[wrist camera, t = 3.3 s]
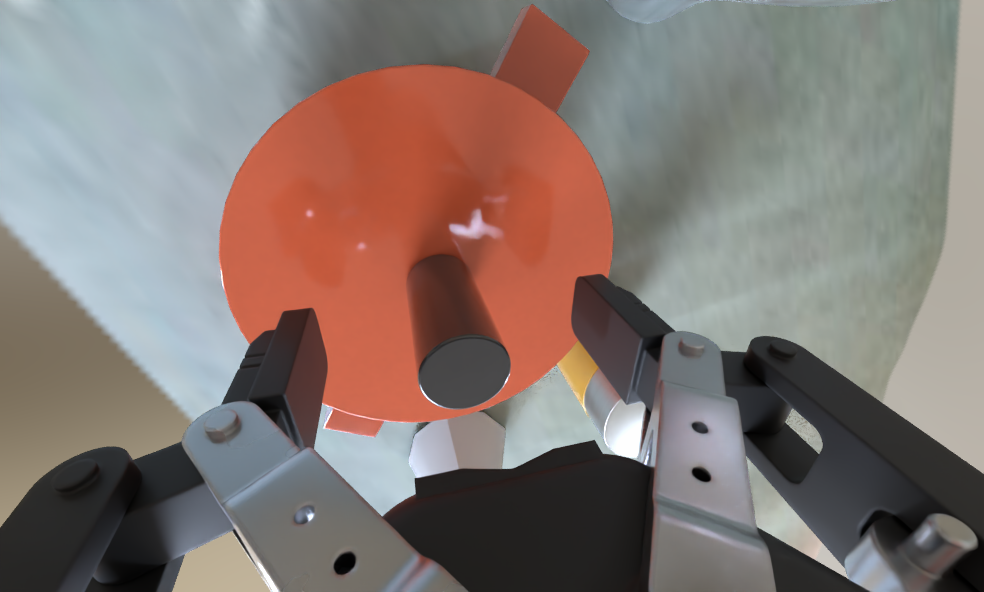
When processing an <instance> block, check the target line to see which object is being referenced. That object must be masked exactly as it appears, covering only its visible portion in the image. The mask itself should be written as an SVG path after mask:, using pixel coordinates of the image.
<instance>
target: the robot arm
mask: <svg viewBox="0 0 984 592" xmlns="http://www.w3.org/2000/svg"><path fill="white" fill-rule="evenodd" d="M571 324H572V329H573V332H574V334H575V336H576V337H577V339H578V340H579V342H580V343H581V344H582V346H583V347H584V348H585V350H586V351H587V352H588V354H589V355H590V356H591V358H592V359H593V361H594V362H595V363H596V365H597V366H598V367H599V369H600V370H601V371H602V373H603V374H604V375H605V377H606V378H607V380H608V381H609V382H610V384H611V385H612V386H613V388H614V389H615V390H616V392H617V393H618V394H619V396H620V397H621V399H622V400H623V401H624V403H625V404H626V405H631V404H636V403H641V402H643V403H644V405H645V410H644V414H643V420H642V428H641V436H640V443H639V451H638V458H637V461H636V460H633V459H630V458H626V457H622V456H617V455H610V454H603V453H602V452H601V450H600V448H599V447H598V445H597V443H596V441H595V440H593V441H588V442H583V443H579V444H574V445H569V446H565V447H560V448H555V449H552V450H550V451H548V452H546V453H544V454H542V455H540V456H538V457H536V458H534V459H532V460H530V461H528V462H526V463H524V464H522V465H520V466H518V467H516V468H513V469H471V468H462V469H457V470H452V471H447V472H443V473H438V474H433V475H429V476H424V477H419V478H415V490H416V494H415V495H413V496H411V497H409V498H407V499H405V500H404V501H402V502H401V503H399V504H397V505H396V506H395V507H393V508H392V509H391V510H390V511H388V512H387V513H386V514H385V515H384V516H383V517H382V516H381V515H380V514H379V513H378V512H377V511H376V510H375V509H374V508H373V507H372V506H371V505H370V504H369V503H368V502H366V501H365V500H364V499H363V498H362V497H361V496H360V495H359V494H358V493H357V492H356V491H355V490H354V489H353V488H352V487H351V486H350V485H349V484H348V483H347V482H346V481H345V480H344V479H343V478H342V477H341V476H340V475H339V474H338V473H337V472H336V471H335V470H334V469H333V468H332V467H331V466H330V465H329V464H328V463H327V462H326V461H325V460H324V459H323V458H322V457H321V456H320V455H319V454H318V453H317V452H316V451H315V450H314V444H315V439H316V433H317V428H318V422H319V417H320V411H321V406H322V400H323V395H324V389H325V384H326V378H327V372H328V361H327V354H326V350H325V346H324V342H323V338H322V335H321V331H320V327H319V323H318V320H317V316H316V313H315V311H314V309H313V308H304V309H296V310H287V311H283V313H282V315H281V317H280V320H279V322H278V324H277V327H276V329H275V330H268V331H264V332H263V333H262V334H261V335H260V336H258V337H257V338H256V339H255V340H254V341H253V342H252V343H251V344H250V346H249V348H248V350H247V352H246V354H245V358H244V359H243V361H242V363H241V365H240V369H239V370H238V371H237V373H236V375H235V377H234V379H233V381H232V383H231V385H230V387H229V390H228V392H227V394H226V396H225V398H224V400H223V402H222V404H221V406H218V407H216V408H213V409H211V410H209V411H208V412H206V413H204V414H203V415H201V416H200V417H198V418H197V419H196V420H195V421H194V422H193V423H192V424H191V425H190V426H189V427H188V428H187V430H186V431H185V433H184V435H183V438H182V441H181V442H179V443H177V444H174V445H172V446H169V447H167V448H164V449H161V450H159V451H156V452H154V453H151V454H148V455H145V456H143V457H140V458H137V459H135V460H132V458H131V457H130V455H129V454H128V452H127V451H126V450H125V449H123V448H120V447H102V448H98V449H93V450H90V451H87V452H84V453H82V454H80V455H77V456H75V457H73V458H71V459H69V460H67V461H65V462H63V463H61V464H60V465H58V466H57V467H55V468H54V469H52V470H51V471H50V472H48V473H47V474H46V475H44V476H43V477H42V478H41V479H39V480H38V481H37V482H36V483H35V484H34V485H33V487H32V488H31V489H30V490H29V491H28V493H27V494H26V495H25V497H24V498H23V499H22V500H21V502H20V503H19V504H18V506H17V507H16V508H15V509H14V511H13V512H12V513H11V515H10V516H9V517H8V518H7V520H6V521H5V522H4V524H3V525H2V526H1V527H0V592H172V590H173V587H174V585H175V582H176V579H177V576H178V573H179V570H180V567H181V564H182V562H183V558H184V556H185V554H186V553H188V552H190V551H192V550H194V549H196V548H198V547H200V546H202V545H204V544H206V543H208V542H210V541H212V540H214V539H216V538H218V537H220V536H222V535H224V534H226V533H228V532H230V531H232V532H233V534H234V535H235V537H236V538H237V540H238V541H239V543H240V545H241V546H242V548H243V549H244V551H245V552H246V554H247V556H248V557H249V559H250V560H251V561H252V563H253V565H254V566H255V568H256V570H257V571H258V573H259V574H260V576H261V577H262V579H263V580H264V582H265V583H266V585H267V587H268V588H269V590H270V591H271V592H984V474H983V473H981V472H980V471H979V470H977V469H976V468H974V467H973V466H971V465H970V464H968V463H967V462H966V461H964V460H963V459H961V458H960V457H958V456H957V455H956V454H954V453H953V452H951V451H950V450H948V449H947V448H946V447H944V446H943V445H941V444H940V443H939V442H937V441H936V440H934V439H933V438H931V437H930V436H929V435H927V434H926V433H924V432H923V431H921V430H920V429H919V428H917V427H916V426H914V425H913V424H911V423H910V422H909V421H907V420H905V419H904V418H903V417H901V416H900V415H898V414H897V413H896V412H894V411H893V410H891V409H890V408H888V407H887V406H886V405H884V404H883V403H881V402H880V401H879V400H877V399H876V398H874V397H873V396H871V395H870V394H869V393H867V392H866V391H864V390H863V389H861V388H860V387H859V386H857V385H856V384H854V383H853V382H851V381H850V380H849V379H847V378H846V377H844V376H843V375H841V374H840V373H839V372H837V371H836V370H834V369H833V368H831V367H830V366H829V365H827V364H826V363H824V362H823V361H821V360H820V359H819V358H817V357H816V356H814V355H813V354H811V353H810V352H809V351H807V350H806V349H804V348H803V347H801V346H799V345H797V344H795V343H793V342H791V341H788V340H785V339H781V338H777V337H770V336H761V337H756V338H754V339H752V341H751V342H750V345H749V347H748V350H747V352H730V351H720V349H719V347H718V346H717V345H716V344H715V343H714V342H712V341H711V340H709V339H707V338H706V337H703V336H701V335H698V334H695V333H691V332H683V331H677V332H676V331H675V330H673V329H672V328H671V327H670V326H669V325H668V324H667V323H665V322H664V321H663V320H662V319H661V318H660V317H659V316H658V315H656V314H655V313H654V312H653V311H650V308H648V307H647V306H646V305H645V304H642V301H640V300H639V299H638V298H637V297H636V296H635V295H634V294H633V293H631V292H629V291H626V290H624V289H622V288H620V287H618V286H617V287H616V286H615V285H614V284H612V283H611V282H610V281H609V280H608V279H607V278H606V277H605V276H604V275H602V274H594V275H586V276H579V277H577V279H576V282H575V288H574V297H573V305H572V314H571ZM792 408H793V409H794V410H796V411H797V412H798V413H799V414H800V415H801V416H802V417H804V418H805V419H806V420H807V421H808V422H809V423H810V424H812V425H813V426H814V427H815V428H816V429H817V431H818V432H819V434H820V436H821V438H822V442H823V448H822V451H821V452H820V454H818V453H817V452H816V451H815V450H814V449H813V448H812V447H811V446H810V445H809V444H807V443H806V442H805V441H804V440H803V439H802V438H801V437H800V436H799V435H798V434H797V433H796V432H795V431H794V430H793V429H791V428H790V427H789V426H788V425H787V424H786V423H785V421H786V419H787V417H788V415H789V414H790V412H791V410H792ZM746 456H747V457H748V458H749V460H750V461H751V462H752V463H753V464H754V465H755V466H756V468H757V469H758V470H759V471H760V472H761V473H762V474H763V476H764V477H765V478H766V479H767V480H768V481H769V482H770V484H771V485H772V486H773V487H774V488H775V489H776V490H777V491H778V493H779V494H780V495H781V496H782V497H783V498H784V499H785V501H786V502H787V503H788V504H789V505H790V506H791V507H792V509H793V510H794V511H795V512H796V513H797V514H798V515H799V517H800V518H801V519H802V520H803V521H804V522H805V523H806V525H807V526H808V527H809V528H810V529H811V530H812V531H813V533H814V534H815V535H816V536H817V537H818V538H819V539H820V541H821V542H822V543H823V544H824V545H825V546H826V547H827V548H828V550H829V551H830V552H831V553H832V554H833V555H834V557H835V558H836V559H837V560H838V561H839V562H840V563H841V565H842V566H843V567H844V568H845V570H846V574H847V576H848V578H849V579H847V578H846V577H844V576H842V575H840V574H839V573H837V572H835V571H833V570H832V569H830V568H828V567H826V566H825V565H823V564H821V563H819V562H818V561H816V560H814V559H812V558H811V557H809V556H807V555H805V554H803V553H802V552H800V551H798V550H796V549H795V548H793V547H791V546H789V545H788V544H786V543H784V542H782V541H781V540H779V539H777V538H775V537H774V536H772V535H770V534H768V533H767V532H765V531H763V530H761V529H759V528H758V527H757V526H756V520H755V513H754V506H753V500H752V493H751V486H750V480H749V473H748V466H747V460H746Z"/></svg>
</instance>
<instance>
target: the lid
mask: <svg viewBox="0 0 984 592" xmlns="http://www.w3.org/2000/svg"><path fill="white" fill-rule="evenodd" d="M612 250H613V222H612V216H611V210H610V204H609V199H608V196H607V193H606V189H605V186H604V183H603V180H602V177H601V175H600V173H599V171H598V169H597V167H596V165H595V163H594V160H593V158H592V156H591V155H590V153H589V152H588V150H587V149H586V147H585V146H584V144H583V143H582V142H581V140H580V139H579V137H578V136H577V135H576V133H575V132H574V131H573V130H572V129H571V128H570V127H569V126H568V125H567V124H566V123H565V121H564V120H563V119H562V118H561V117H560V116H559V115H557V114H556V113H555V112H554V111H553V110H551V109H550V108H549V107H548V106H546V105H545V104H544V103H543V102H541V101H540V100H539V99H537V98H536V97H534V96H532V95H530V94H529V93H527V92H525V91H524V90H522V89H520V88H518V87H517V86H515V85H513V84H511V83H508V82H506V81H503V80H501V79H498V78H496V77H493V76H491V75H488V74H485V73H481V72H477V71H472V70H468V69H464V68H460V67H455V66H442V65H430V64H416V65H402V66H390V67H385V68H381V69H376V70H372V71H368V72H363V73H359V74H356V75H353V76H351V77H348V78H346V79H343V80H341V81H338V82H336V83H333V84H331V85H328V86H326V87H324V88H323V89H321V90H319V91H318V92H316V93H314V94H312V95H311V96H309V97H307V98H306V99H304V100H302V101H301V102H299V103H297V104H296V105H295V106H294V107H293V108H291V109H290V110H289V111H288V112H287V113H286V114H284V115H283V116H282V117H281V118H280V119H278V120H277V121H276V122H275V123H274V124H272V126H271V127H270V128H269V129H268V130H267V131H266V133H265V134H264V135H263V136H262V137H261V138H260V140H259V141H258V142H257V143H256V144H255V145H254V147H253V148H252V149H251V151H250V152H249V154H248V156H247V157H246V159H245V161H244V162H243V164H242V166H241V167H240V169H239V171H238V172H237V174H236V176H235V179H234V181H233V184H232V187H231V189H230V192H229V194H228V197H227V199H226V202H225V207H224V212H223V216H222V221H221V226H220V237H219V262H220V270H221V277H222V284H223V287H224V291H225V294H226V297H227V300H228V304H229V307H230V310H231V312H232V314H233V316H234V318H235V320H236V322H237V324H238V326H239V328H240V330H241V332H242V333H243V335H244V336H245V338H246V339H247V341H248V342H249V344H251V343H252V342H253V341H254V340H255V339H256V338H257V337H258V336H260V335H261V334H262V333H263V332H264V331H268V330H275V329H276V327H277V324H278V322H279V320H280V317H281V315H282V313H283V311H287V310H296V309H304V308H313V309H314V311H315V313H316V316H317V320H318V323H319V327H320V331H321V335H322V338H323V342H324V346H325V350H326V354H327V361H328V372H327V378H326V384H325V389H324V395H323V400H322V404H324V405H326V406H329V407H332V408H334V409H337V410H340V411H342V412H345V413H348V414H352V415H356V416H360V417H364V418H368V419H375V420H382V421H389V422H430V421H437V420H444V419H451V418H455V417H459V416H463V415H468V414H471V413H474V412H477V411H480V410H483V409H486V408H489V407H491V406H493V405H496V404H498V403H500V402H502V401H505V400H507V399H509V398H510V397H512V396H514V395H516V394H518V393H519V392H521V391H523V390H525V389H526V388H527V387H529V386H530V385H532V384H533V383H535V382H536V381H538V380H539V379H540V378H542V377H543V376H544V375H545V374H546V373H548V372H549V371H550V370H551V369H552V368H554V367H555V366H556V365H557V364H558V363H559V362H560V361H561V360H562V359H563V358H564V356H565V355H566V354H567V353H568V352H569V351H570V350H571V349H572V347H573V346H574V345H575V344H576V342H577V341H578V339H577V337H576V336H575V334H574V332H573V329H572V324H571V314H572V305H573V297H574V288H575V282H576V279H577V277H579V276H586V275H594V274H602V275H604V276H605V277H606V278H607V279H608V275H609V271H610V267H611V260H612Z"/></svg>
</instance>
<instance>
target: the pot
mask: <svg viewBox="0 0 984 592" xmlns="http://www.w3.org/2000/svg"><path fill="white" fill-rule="evenodd" d="M589 52H590V51H589V49H587V48H586V47H585V46H584V45H582V44H581V43H580V42H579V41H578V40H576V39H575V38H574V37H573V36H571V35H570V34H569V33H568V32H567V31H565V30H564V29H563V28H562V27H560V26H559V25H558V24H557V23H556V22H554V21H553V20H552V19H551V18H549V17H548V16H547V15H546V14H545V13H543V12H542V11H541V10H540V9H538V8H537V7H536V6H535V5H533V4H531V5H528V6H526V7H524V8H522V9H521V11H520V13H519V15H518V17H517V19H516V21H515V23H514V26H513V28H512V30H511V32H510V34H509V36H508V38H507V40H506V42H505V44H504V46H503V48H502V50H501V52H500V54H499V56H498V59H497V61H496V63H495V65H494V67H493V69H492V71H491V73H490V75H491V76H493V77H496V78H498V79H501V80H503V81H506V82H508V83H511V84H513V85H515V86H517V87H518V88H520V89H522V90H524V91H525V92H527V93H529V94H530V95H532V96H534V97H536V98H537V99H539V100H540V101H541V102H543V103H544V104H545V105H546V106H548V107H549V108H550V109H551V110H553V111H554V112H555V113H556V112H557V110H558V108H559V106H560V105H561V103H562V101H563V99H564V97H565V96H566V94H567V92H568V90H569V88H570V87H571V85H572V83H573V81H574V80H575V78H576V76H577V74H578V72H579V71H580V69H581V67H582V65H583V63H584V62H585V60H586V58H587V56H588V54H589ZM383 422H384V421H382V420H375V419H368V418H364V417H360V416H356V415H352V414H348V413H345V412H342V411H340V410H337V409H334V408H332V407H328V409H327V411H326V415H325V421H324V428H325V429H330V430H336V431H341V432H347V433H353V434H358V435H364V436H369V437H376V435H377V433H378V431H379V430H380V428H381V426H382V424H383Z"/></svg>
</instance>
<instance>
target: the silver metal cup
mask: <svg viewBox="0 0 984 592" xmlns="http://www.w3.org/2000/svg"><path fill="white" fill-rule="evenodd" d="M707 1H731V2H742V3H752V4H763V5H776V6H789V7H840V6H850V5H860V4H869V3H879V2H889V1H896V0H607V2H608V3H609V4H610V6H611V7H612V8H613V9H614V10H615V11H616V12H617V13H618V14H620V15H621V16H622V17H624V18H626V19H628V20H630V21H633V22H637V23H645V24H647V23H655V22H659V21H663V20H665V19H668V18H670V17H672V16H674V15H676V14H678V13H680V12H682V11H684V10H686V9H688V8H689V7H691V6H693V5H696V4H698V3H702V2H707Z"/></svg>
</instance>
